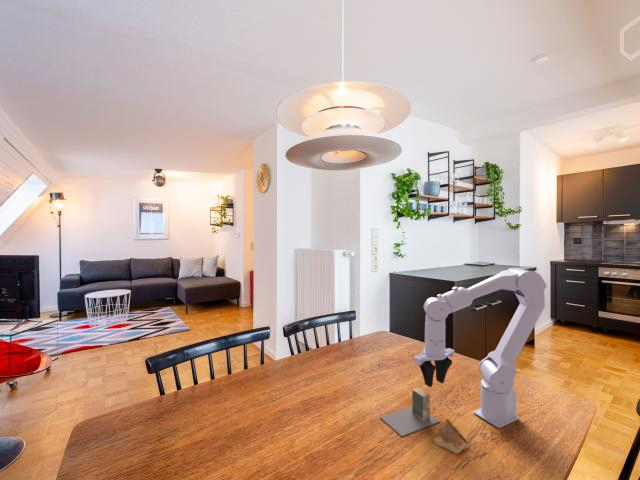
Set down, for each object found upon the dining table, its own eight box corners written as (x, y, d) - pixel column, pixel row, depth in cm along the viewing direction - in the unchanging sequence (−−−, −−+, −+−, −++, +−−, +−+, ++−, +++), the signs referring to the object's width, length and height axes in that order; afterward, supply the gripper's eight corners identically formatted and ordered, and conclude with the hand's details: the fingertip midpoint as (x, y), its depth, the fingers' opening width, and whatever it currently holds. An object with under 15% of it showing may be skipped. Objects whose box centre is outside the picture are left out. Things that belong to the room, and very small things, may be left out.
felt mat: (416, 405, 94) (416, 404, 94) (440, 421, 86) (440, 420, 86) (380, 418, 88) (380, 417, 88) (401, 437, 80) (402, 435, 80)
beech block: (418, 410, 91) (418, 387, 91) (429, 418, 87) (430, 394, 87) (411, 412, 90) (412, 389, 90) (423, 421, 86) (423, 396, 86)
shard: (446, 424, 86) (446, 417, 86) (476, 436, 81) (476, 429, 81) (432, 444, 78) (432, 437, 78) (464, 459, 73) (464, 451, 73)
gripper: (441, 331, 97) (440, 372, 98) (406, 338, 91) (406, 383, 91) (460, 338, 91) (459, 382, 92) (424, 346, 85) (424, 394, 85)
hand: (434, 383), depth 91 cm, fingers open, 4 cm apart
